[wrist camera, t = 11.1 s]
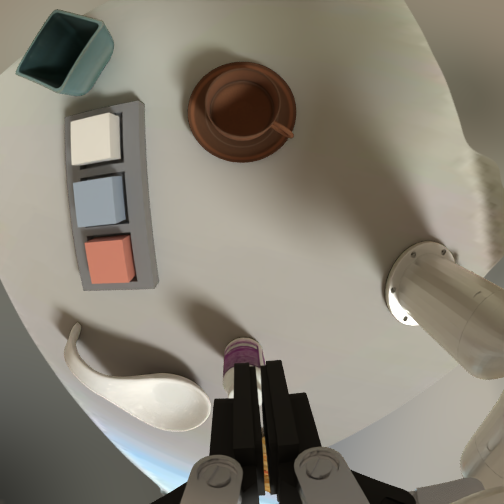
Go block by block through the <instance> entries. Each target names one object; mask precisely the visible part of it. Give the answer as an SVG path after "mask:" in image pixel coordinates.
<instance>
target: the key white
mask: <svg viewBox="0 0 504 504" xmlns="http://www.w3.org/2000/svg"><path fill="white" fill-rule="evenodd" d="M116 159H121V155H120V128H119V117H118V116H116V115H114V114H111V113H105V114H101V115H96V116H92V117H88V118H84V119H80V120H76V121H72V122H71V161H72V165H88V164H93V163H99V162H104V161H110V160H116Z"/></svg>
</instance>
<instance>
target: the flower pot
mask: <svg viewBox="0 0 504 504" xmlns="http://www.w3.org/2000/svg"><path fill="white" fill-rule="evenodd" d="M113 49H114V42H113V39H112V37H111V35H110V33H109V31H108V29H107V28H106V26H105V24H104V22H103V21H101V20H97V19H93V18H90V17H86V16H82V15H78V14H74V13H70V12H66V11H63V10H58V9H57V10H54V11H53V12H52V13H51V15H50V16H49V17H48V19H47V20H46V22H45V23H44V25H43V26H42V28H41V29H40V31H39V32H38V34H37V36H36V37H35V39H34V40H33V42H32V44H31V46H30V47H29V49H28V50H27V52H26V53H25V55H24V57H23V58H22V60H21V62H20V64H19V66H18V68H17V70H16V75H18V76H21V77H23V78H25V79H28V80H30V81H33V82H35V83H37V84H39V85H42V86H44V87H46V88H48V89H50V90H52V91H54V92H56V93H60V94H66V95H72V96H81V95H84V94H86V93H87V92H89V91H90V89H91V88H92V87H93V85H94V84H95V82H96V80H97V79H98V77H99V75H100V74H101V72H102V70H103V69H104V67H105V66H106V64H107V63H108V61H109V60H110V58H111V55H112V53H113Z"/></svg>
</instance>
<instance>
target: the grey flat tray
mask: <svg viewBox="0 0 504 504" xmlns="http://www.w3.org/2000/svg"><path fill="white" fill-rule="evenodd" d="M105 113H111V114H114V115H116V116H118V117H119V128H120V155H121V159H116V160H110V161H104V162H99V163H93V164H88V165H72V161H71V122H72V121H76V120H80V119H84V118H88V117H92V116H96V115H101V114H105ZM65 154H66V173H67V186H68V197H69V207H70V215H71V223H72V230H73V237H74V244H75V250H76V255H77V261H78V266H79V271H80V276H81V281H82V286H83V290H84V291H98V290H135V289H155V287H156V286H157V284H158V283H159V277H158V270H157V263H156V256H155V248H154V240H153V231H152V222H151V212H150V201H149V189H148V176H147V160H146V139H145V105H144V104H143V103H141V102H140V101H133V102H128V103H123V104H118V105H113V106H108V107H104V108H100V109H95V110H91V111H87V112H83V113H79V114H76V115H72V116H68V117H65ZM114 176H122V185H123V197H124V207H125V217H126V219H125V220H123V221H121V222H118V223H116V224H106V225H97V226H87V227H78V225H77V218H76V209H75V200H74V189H73V183H76V182H82V181H88V180H94V179H100V178H106V177H114ZM128 234H131V241H132V248H133V255H134V262H135V268H136V275H135V276H134V277H133V279H132V280H131V281H130V282H129V283H102V284H92V282H91V277H90V272H89V266H88V261H87V255H86V249H85V242H87V241H89V240H91V239H93V238H95V237H105V236H117V235H128Z"/></svg>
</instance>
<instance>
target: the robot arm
mask: <svg viewBox="0 0 504 504" xmlns="http://www.w3.org/2000/svg"><path fill="white" fill-rule="evenodd" d="M385 294H386V302H387V306H388V308H389V311H390V312H391V314H392V315H393V316H394V317H395V318H396V319H397V320H398V321H400V322H401V323H403V324H406V325H419V326H420V327H421V328H423V329H424V330H425V331H426V332H427V333H428V334H429V335H430V336H431V337H432V338H433V339H434V340H435V341H436V342H437V343H438V344H439V345H440V346H441V347H442V348H444V349H445V350H446V351H447V352H448V353H449V354H450V355H451V356H452V357H453V358H454V359H455V360H456V361H457V362H458V363H459V364H460V365H461V366H462V367H463V368H464V369H465V370H466V371H467V372H468V373H469V374H471V375H472V376H474V377H476V378H479V379H483V380H492V379H498V378H503V377H504V289H503V288H501V287H499V286H497V285H496V284H494V283H492V282H490V281H488V280H486V279H484V278H482V277H481V276H479V275H477V274H475V273H474V272H472V271H469V270H467V269H465V268H463V267H461V266H459V265H457V264H456V263H455V260H454V257H453V256H452V254H451V252H450V251H449V250H448V249H447V248H446V247H445V246H443V245H441V244H439V243H437V242H432V241H423V242H420V243H417V244H415V245H413V246H411V247H409V248H408V249H407V250H406V251H404V252H403V253H402V254H401V256H400V257H399V258H398V259H397V260H396V262H395V263H394V265H393V267H392V269H391V271H390V273H389V276H388V279H387V283H386V290H385ZM260 371H261V392H262V413H263V427H264V437H265V446H266V456H267V466H268V476H269V485H270V494H271V495H273V494H277V501H278V502H279V504H504V390H503V392H502V394H501V396H500V398H499V399H498V401H497V402H496V404H495V405H494V407H493V409H492V410H491V412H490V413H489V414H488V416H487V417H486V418H485V420H484V421H483V423H482V424H481V425H480V427H479V428H478V429H477V431H476V433H475V434H474V435H473V436H472V438H471V439H470V441H469V442H468V444H467V445H466V447H465V449H464V451H463V453H462V456H461V460H460V470H461V474H462V476H463V479H459V480H455V481H450V482H447V483H442V484H437V485H432V486H427V487H421V488H417V489H416V490H415V491H411V492H407V491H405V490H403V489H401V488H397V487H395V486H391V485H389V484H386V483H383V482H380V481H378V480H375V479H372V478H370V477H367V476H365V475H362V474H360V473H357V472H355V471H352V470H350V468H349V467H348V465H347V463H346V462H345V460H344V458H343V457H342V456H341V454H340V453H339V452H337V451H335V450H334V449H331V448H328V447H322V446H321V443H320V439H319V436H318V432H317V429H316V425H315V422H314V418H313V415H312V411H311V408H310V404H309V401H308V398H307V395H306V393H305V392H304V393H296V394H289V393H288V389H287V384H286V379H285V375H284V370H283V366H282V361H281V360H275V361H266V365H261V366H260ZM260 495H265V480H264V461H263V444H262V433H261V422H260V411H259V400H258V389H257V377H256V366H249V362H247V363H234V398H226V399H215V400H214V407H213V418H212V430H211V442H210V454H209V456H206V457H204V458H202V459H200V460H199V461H198V462H197V463H195V464H194V466H193V468H192V470H191V473H190V476H189V479H188V482H186V483H184V484H183V485H181V486H180V487H178V488H176V489H175V490H173V491H171V492H170V493H168V494H166V495H165V496H163V497H161V498H159V499H158V500H156V501H154V502H152V503H151V504H259V496H260Z"/></svg>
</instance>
